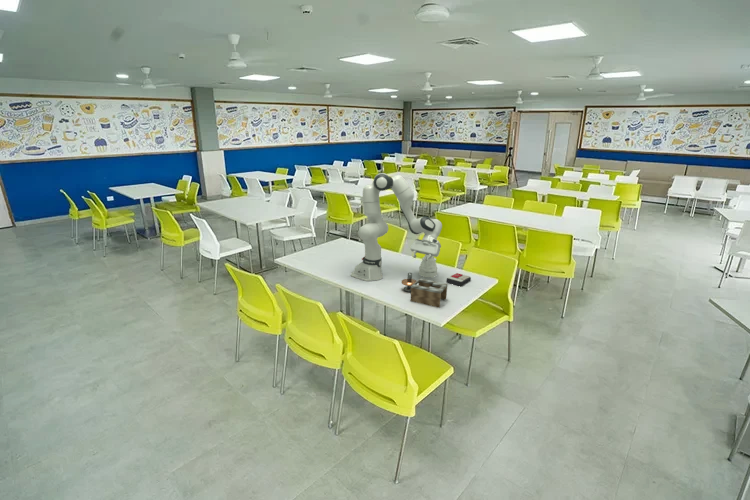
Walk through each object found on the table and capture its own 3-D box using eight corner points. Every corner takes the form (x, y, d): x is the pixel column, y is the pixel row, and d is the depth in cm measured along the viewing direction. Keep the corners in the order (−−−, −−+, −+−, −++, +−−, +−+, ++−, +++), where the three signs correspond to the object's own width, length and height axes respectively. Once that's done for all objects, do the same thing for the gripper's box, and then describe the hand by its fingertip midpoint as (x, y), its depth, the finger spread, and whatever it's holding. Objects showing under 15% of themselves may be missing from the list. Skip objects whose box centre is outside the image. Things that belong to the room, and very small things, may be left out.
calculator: (471, 276, 264) (461, 281, 252) (470, 282, 265) (460, 287, 253) (456, 272, 270) (446, 277, 259) (456, 278, 271) (446, 283, 260)
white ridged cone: (436, 278, 267) (438, 253, 262) (418, 276, 270) (419, 252, 264) (437, 272, 279) (439, 248, 274) (419, 270, 282) (421, 247, 276)
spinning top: (398, 291, 244) (399, 274, 240) (404, 286, 252) (405, 269, 249) (413, 294, 239) (414, 277, 236) (418, 289, 248) (420, 272, 245)
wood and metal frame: (410, 301, 230) (411, 285, 227) (418, 292, 242) (419, 278, 239) (439, 307, 222) (440, 291, 219) (446, 298, 234) (447, 283, 231)
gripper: (413, 236, 258) (405, 253, 253) (440, 241, 246) (432, 259, 242) (416, 241, 263) (408, 257, 258) (443, 246, 251) (435, 264, 246)
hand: (420, 258), depth 250 cm, fingers open, 8 cm apart
